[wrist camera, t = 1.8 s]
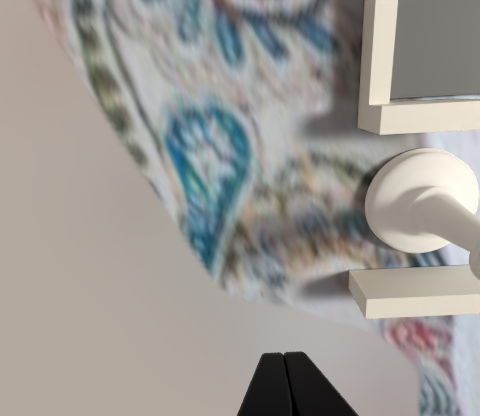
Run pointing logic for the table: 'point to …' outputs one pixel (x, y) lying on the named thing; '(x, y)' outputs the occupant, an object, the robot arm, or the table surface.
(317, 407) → the robot arm
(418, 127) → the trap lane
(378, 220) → the chess piece
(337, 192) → the table surface
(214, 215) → the table surface
